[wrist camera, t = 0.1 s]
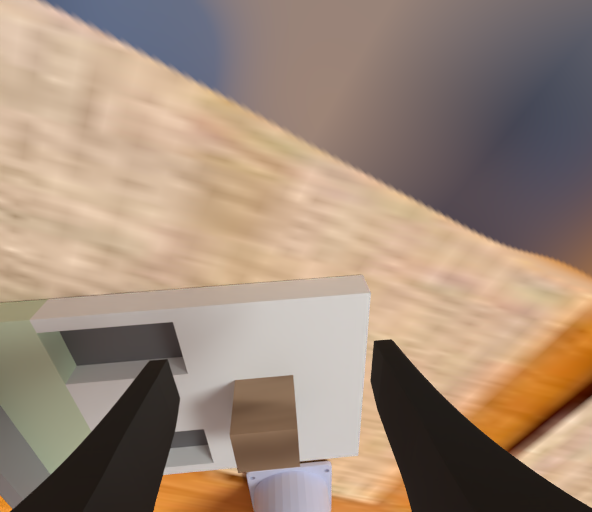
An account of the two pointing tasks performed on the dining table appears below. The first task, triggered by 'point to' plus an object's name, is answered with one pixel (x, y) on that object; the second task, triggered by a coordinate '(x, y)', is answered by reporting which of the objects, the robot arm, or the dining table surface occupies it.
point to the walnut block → (264, 424)
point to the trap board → (179, 368)
